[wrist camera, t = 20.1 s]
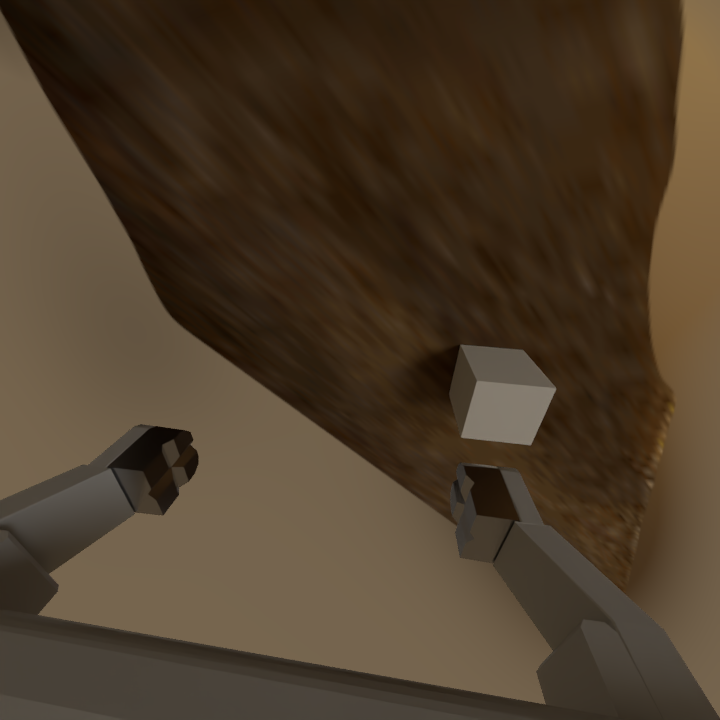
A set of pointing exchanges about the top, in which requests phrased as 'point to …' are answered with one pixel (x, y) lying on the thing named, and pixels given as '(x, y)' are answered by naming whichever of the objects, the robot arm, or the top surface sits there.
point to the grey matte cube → (498, 394)
